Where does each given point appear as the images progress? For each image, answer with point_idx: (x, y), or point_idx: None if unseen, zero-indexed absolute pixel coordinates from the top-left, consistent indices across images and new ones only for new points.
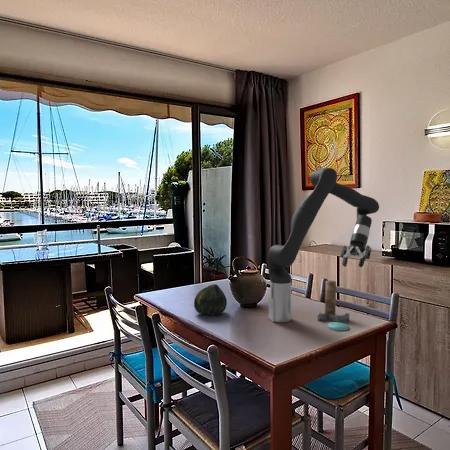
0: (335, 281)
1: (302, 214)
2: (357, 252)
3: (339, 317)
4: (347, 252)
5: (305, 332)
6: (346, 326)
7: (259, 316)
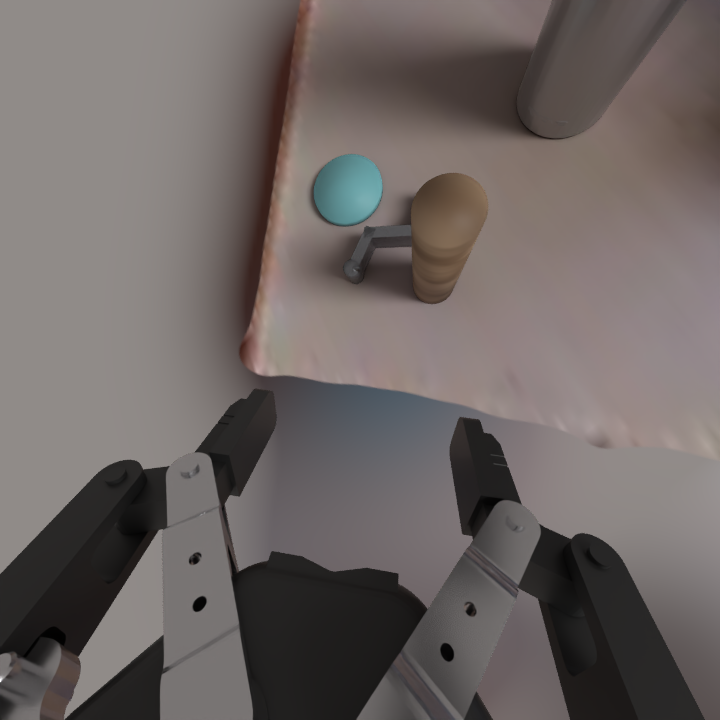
0: (423, 236)
1: None
2: (255, 576)
3: (365, 230)
4: (482, 588)
5: (404, 70)
6: (322, 202)
7: (663, 54)
